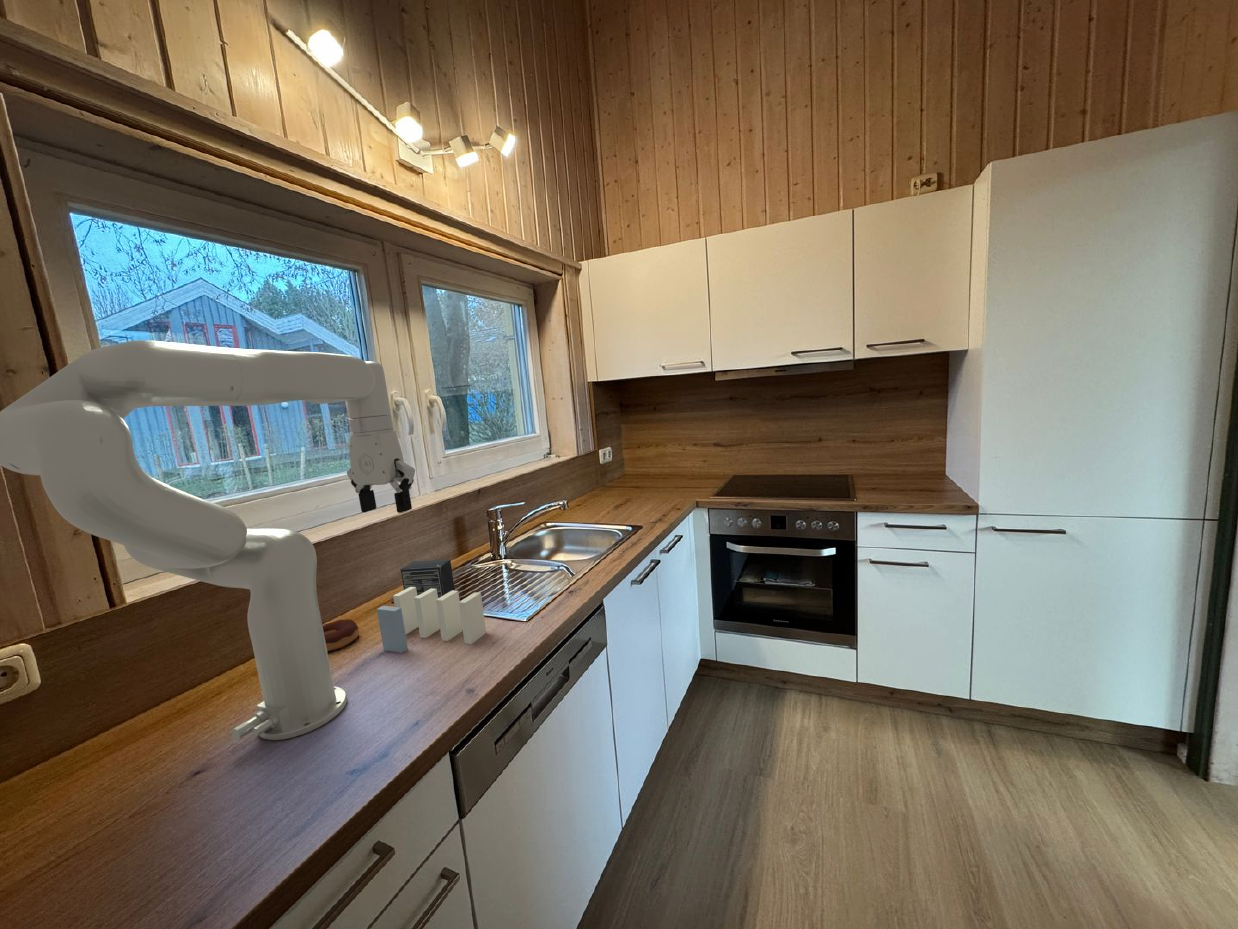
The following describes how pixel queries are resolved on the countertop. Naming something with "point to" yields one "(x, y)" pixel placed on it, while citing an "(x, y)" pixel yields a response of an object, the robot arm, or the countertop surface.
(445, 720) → the countertop surface
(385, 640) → the domino
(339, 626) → the donut
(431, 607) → the domino
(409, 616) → the domino
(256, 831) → the countertop surface
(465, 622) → the domino
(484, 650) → the countertop surface
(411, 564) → the small box
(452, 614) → the domino
